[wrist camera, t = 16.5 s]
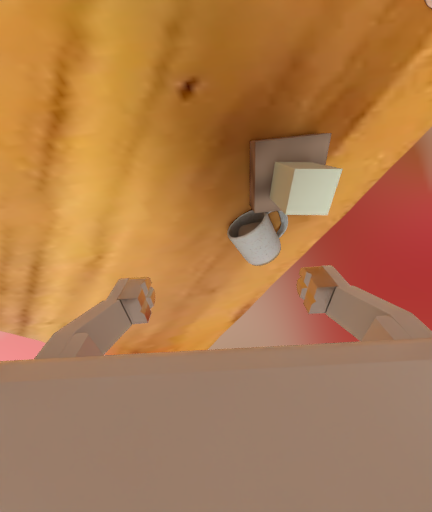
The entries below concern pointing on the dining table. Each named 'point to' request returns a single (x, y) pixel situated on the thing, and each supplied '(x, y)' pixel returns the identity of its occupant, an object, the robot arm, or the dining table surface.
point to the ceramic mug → (257, 237)
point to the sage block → (304, 187)
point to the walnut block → (280, 151)
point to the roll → (429, 3)
